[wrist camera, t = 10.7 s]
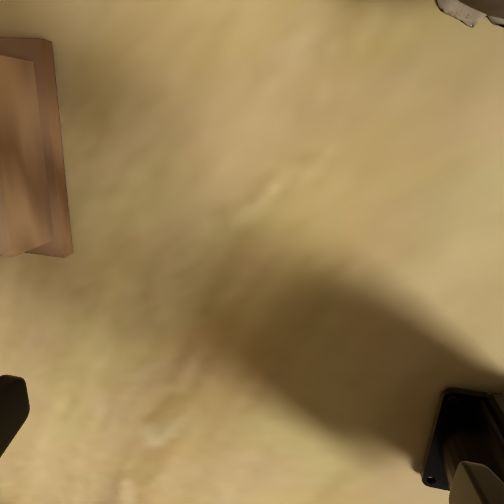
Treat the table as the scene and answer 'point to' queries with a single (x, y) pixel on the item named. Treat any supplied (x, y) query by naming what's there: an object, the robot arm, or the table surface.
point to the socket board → (50, 136)
